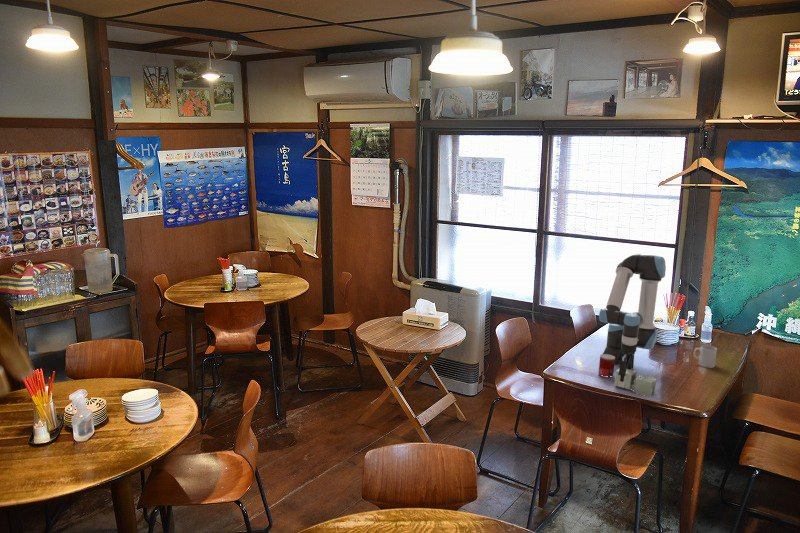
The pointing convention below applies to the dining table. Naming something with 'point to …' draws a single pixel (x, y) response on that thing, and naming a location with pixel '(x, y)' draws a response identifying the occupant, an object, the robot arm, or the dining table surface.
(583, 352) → the dining table surface
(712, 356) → the mug
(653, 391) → the pale grey block
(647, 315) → the robot arm
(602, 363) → the canned food
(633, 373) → the beige hollow box
